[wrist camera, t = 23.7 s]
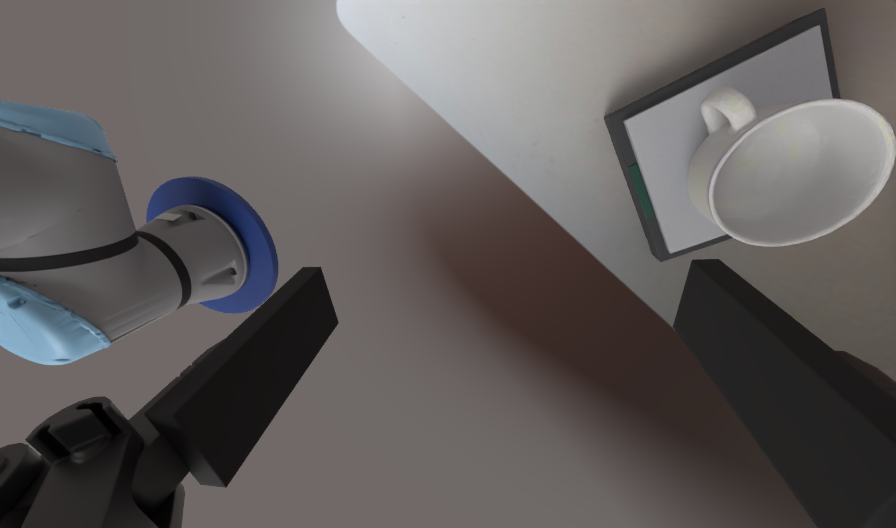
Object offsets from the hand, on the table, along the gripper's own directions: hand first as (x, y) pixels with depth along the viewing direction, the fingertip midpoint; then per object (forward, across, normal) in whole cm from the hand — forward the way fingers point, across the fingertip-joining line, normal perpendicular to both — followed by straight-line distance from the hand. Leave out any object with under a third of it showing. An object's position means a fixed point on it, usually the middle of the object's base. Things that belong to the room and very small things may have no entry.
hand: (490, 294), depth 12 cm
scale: (+28, +22, -2) cm, 36 cm away
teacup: (+25, +22, -1) cm, 33 cm away
